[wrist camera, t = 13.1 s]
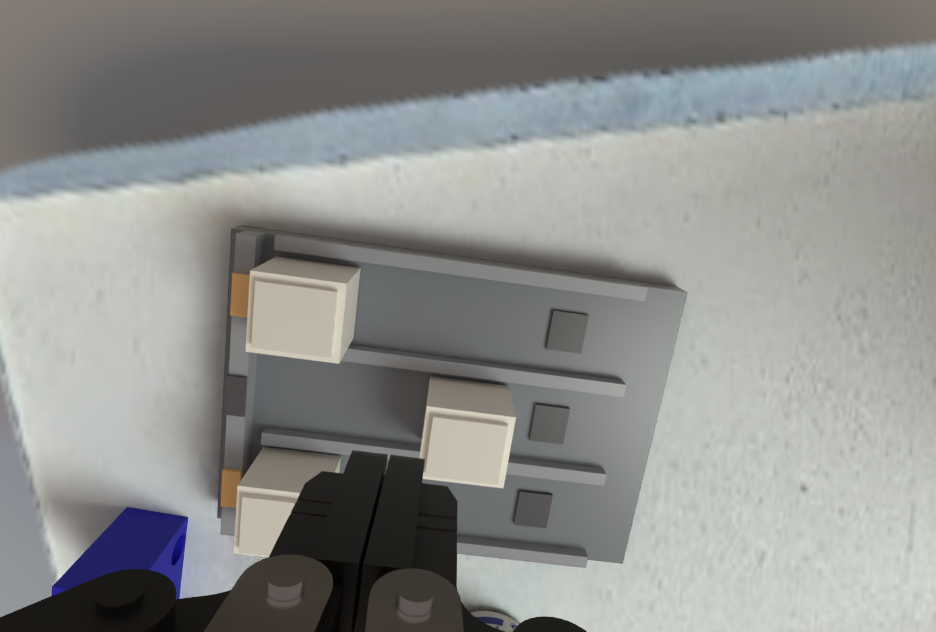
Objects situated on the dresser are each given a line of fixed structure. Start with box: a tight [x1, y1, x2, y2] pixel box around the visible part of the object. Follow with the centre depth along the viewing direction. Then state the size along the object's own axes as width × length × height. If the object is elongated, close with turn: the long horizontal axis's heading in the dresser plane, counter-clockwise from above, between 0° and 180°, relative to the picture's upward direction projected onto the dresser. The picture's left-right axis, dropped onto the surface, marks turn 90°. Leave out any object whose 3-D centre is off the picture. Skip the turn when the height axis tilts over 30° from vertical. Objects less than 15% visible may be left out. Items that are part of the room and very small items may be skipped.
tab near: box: [245, 256, 361, 364], centre depth 25 cm, size 4×3×4 cm
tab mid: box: [419, 376, 516, 488], centre depth 26 cm, size 4×3×4 cm
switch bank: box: [217, 226, 687, 568], centre depth 28 cm, size 20×14×3 cm
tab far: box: [234, 447, 341, 557], centre depth 27 cm, size 4×3×4 cm
